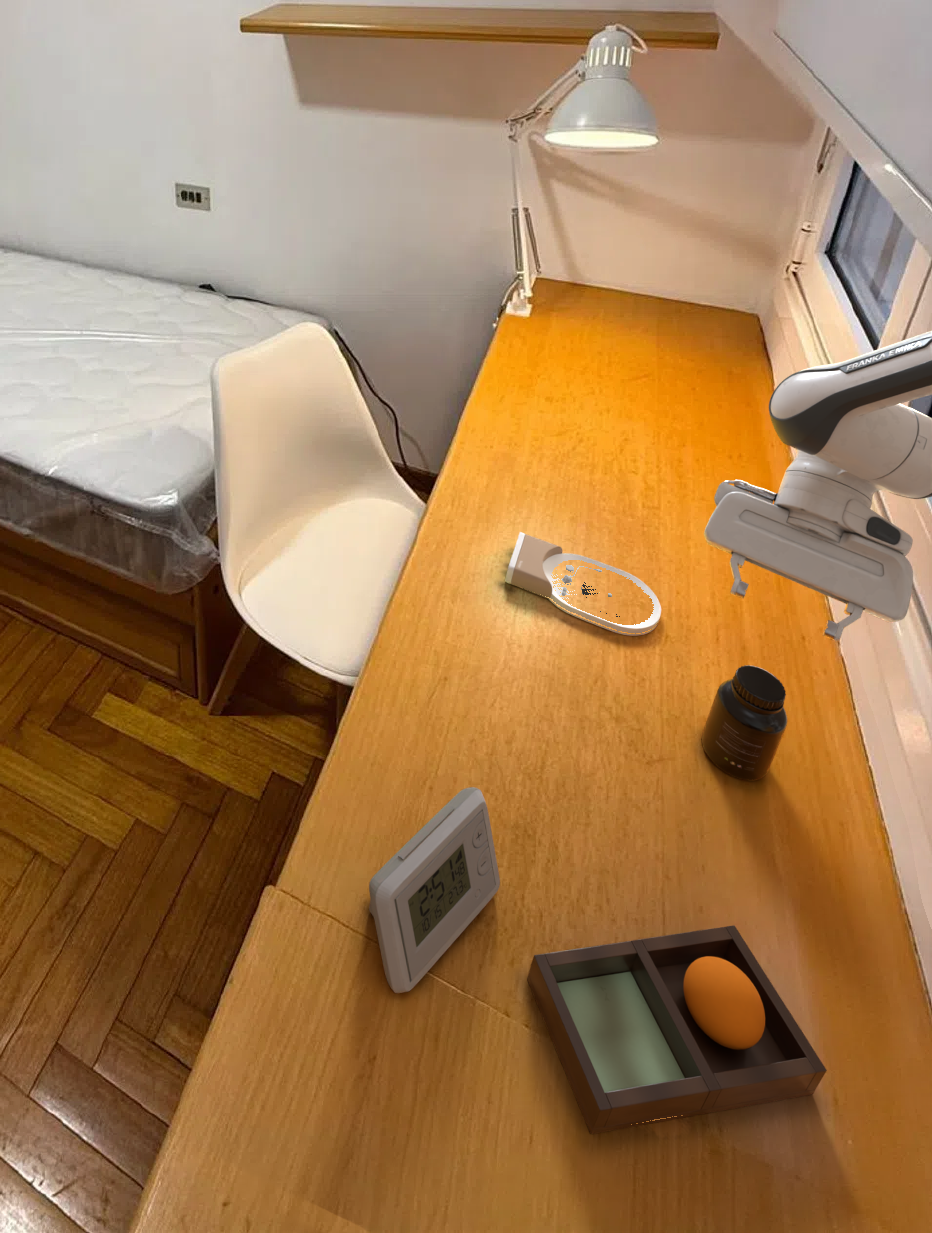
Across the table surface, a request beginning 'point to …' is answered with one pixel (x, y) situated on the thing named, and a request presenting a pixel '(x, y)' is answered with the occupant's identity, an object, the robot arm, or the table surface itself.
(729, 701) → the supplement bottle
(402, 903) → the digital clock
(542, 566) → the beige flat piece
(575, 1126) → the table surface
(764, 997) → the tray
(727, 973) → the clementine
